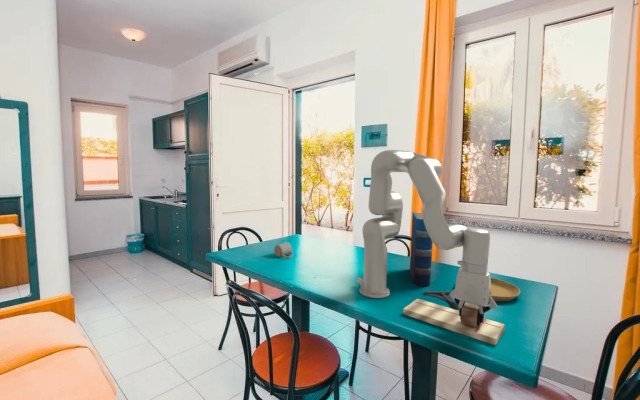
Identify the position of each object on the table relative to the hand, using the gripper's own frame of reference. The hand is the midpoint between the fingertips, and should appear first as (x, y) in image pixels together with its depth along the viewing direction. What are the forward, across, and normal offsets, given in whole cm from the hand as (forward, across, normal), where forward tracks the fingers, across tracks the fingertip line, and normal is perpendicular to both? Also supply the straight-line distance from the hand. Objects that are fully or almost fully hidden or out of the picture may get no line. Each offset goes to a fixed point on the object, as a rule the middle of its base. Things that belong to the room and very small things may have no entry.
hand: (470, 320), depth 105 cm
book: (+3, -32, +36) cm, 49 cm away
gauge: (+1, 0, +2) cm, 2 cm away
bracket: (+4, -14, +18) cm, 23 cm away
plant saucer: (+3, -4, +39) cm, 39 cm away
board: (+3, -6, +1) cm, 7 cm away
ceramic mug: (+3, -106, +16) cm, 107 cm away
